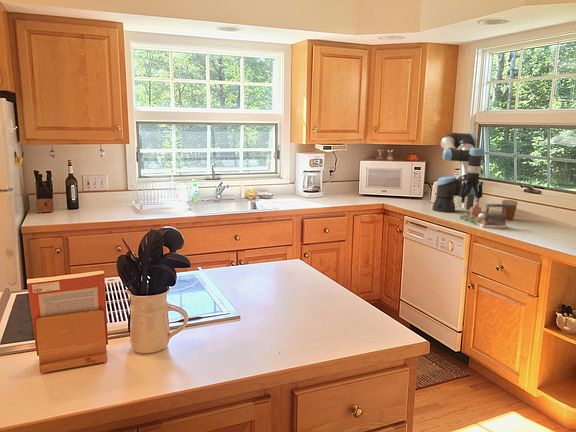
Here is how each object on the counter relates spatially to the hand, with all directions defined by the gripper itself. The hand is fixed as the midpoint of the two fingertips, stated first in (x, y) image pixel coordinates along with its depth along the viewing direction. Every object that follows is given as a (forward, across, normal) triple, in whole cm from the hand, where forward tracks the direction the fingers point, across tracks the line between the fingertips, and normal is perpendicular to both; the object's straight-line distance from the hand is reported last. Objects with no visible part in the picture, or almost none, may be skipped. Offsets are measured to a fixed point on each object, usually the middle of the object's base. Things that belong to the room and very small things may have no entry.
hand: (469, 207), depth 308 cm
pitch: (+6, 0, -17) cm, 18 cm away
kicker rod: (+4, 0, -4) cm, 6 cm away
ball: (+3, 0, -15) cm, 15 cm away
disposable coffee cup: (+6, +24, -6) cm, 26 cm away
